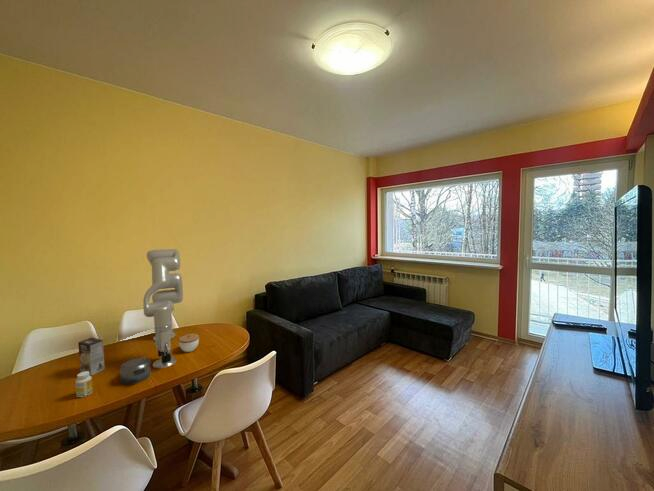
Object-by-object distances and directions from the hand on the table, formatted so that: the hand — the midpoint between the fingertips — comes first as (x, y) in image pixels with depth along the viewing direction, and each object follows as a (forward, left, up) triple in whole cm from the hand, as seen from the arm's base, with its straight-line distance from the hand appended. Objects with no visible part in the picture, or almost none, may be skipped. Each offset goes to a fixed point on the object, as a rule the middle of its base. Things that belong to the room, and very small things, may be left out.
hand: (164, 358), depth 147 cm
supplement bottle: (+4, -33, -3) cm, 33 cm away
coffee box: (-18, -28, -3) cm, 33 cm away
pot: (+5, -14, -2) cm, 15 cm away
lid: (0, 0, -3) cm, 3 cm away
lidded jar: (-6, +15, -3) cm, 16 cm away
